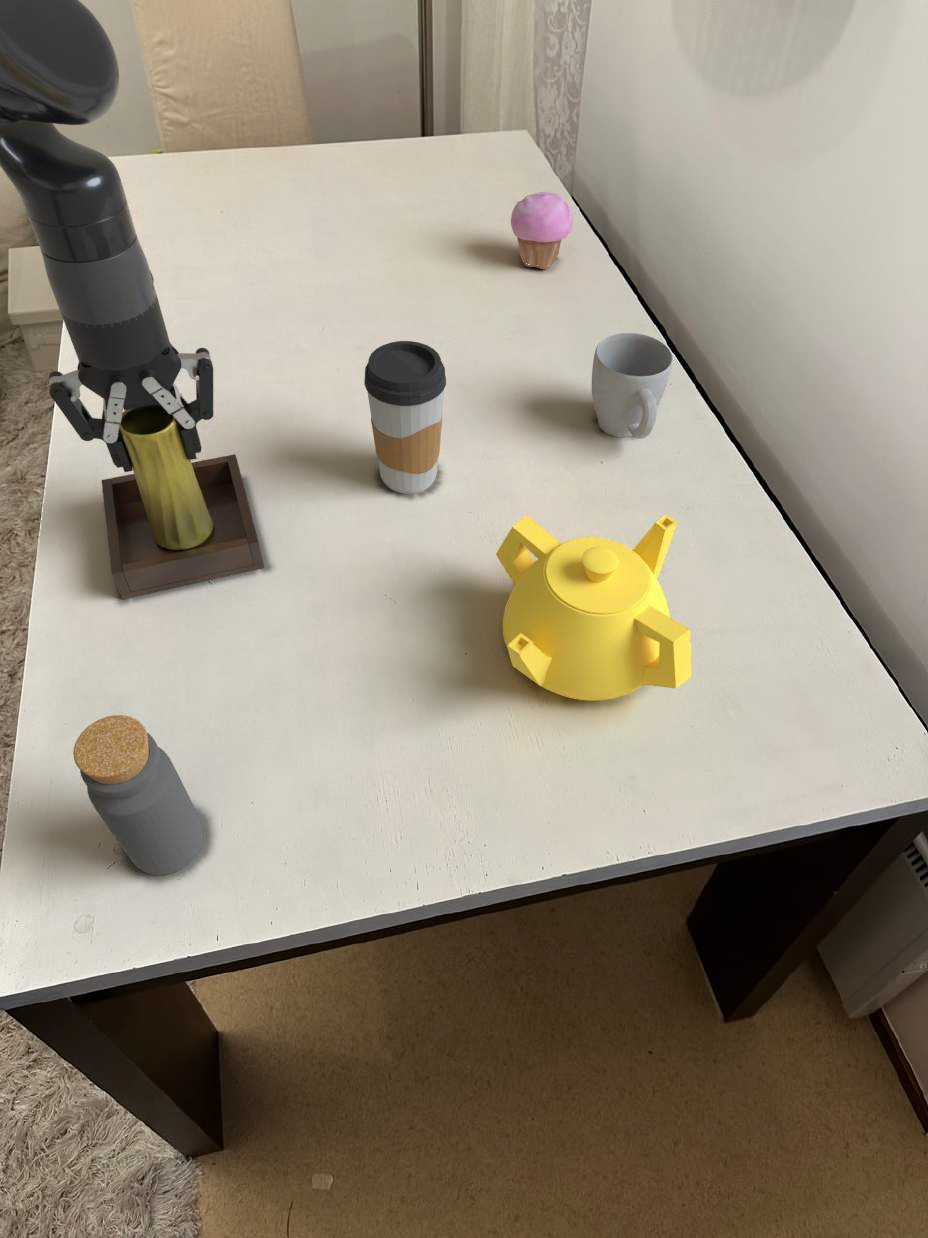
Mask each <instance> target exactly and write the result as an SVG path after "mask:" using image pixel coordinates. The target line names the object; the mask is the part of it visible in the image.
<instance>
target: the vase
mask: <svg viewBox="0 0 928 1238" xmlns="http://www.w3.org/2000/svg"><path fill="white" fill-rule="evenodd" d="M119 432H120V434H121V437H122V440H123V442H124V445H125V448H126V451H127V454H128V457H129V459H130V462H131V465H132V470H133V471H132V472H133V474H135V478H136V481H137V484H138V487H139V490H140V494H141V497H142V500H143V503H144V507H145V510H146V513H147V516H148V520H149V523H150V526H151V530H152V535H153V538H154V540H155V541H156V542H157V543H158V544H159V545H160V546H162V547H164V548H166V549H170V550H186V549H190V548H193V547H196V546H198V545H200V544H201V543H203V542H204V541H205V540H206V539H207V538H208V537H209V536H210V534H211V532H212V529H213V522H212V519H211V517H210V515H209V512H208V510H207V507H206V504H205V501H204V498H203V495H202V492H201V490H200V487H199V484H198V482H197V479H196V476H195V473H194V470H193V467H192V464H191V463H192V460H189V457H188V454H187V450H186V447H185V444H184V440H183V437H182V433H181V430H180V424H179V422H178V421H177V420H176V419H175V417H174V416H173V415H170V414H169V413H168V412H167V411H166V410H165V409H164V408H163V407H162V405H161V404H157V405H152V406H150V405H141V406H138V407H136V408H134V409H129V410H123V412H122V418H121V424H120V425H119Z"/></svg>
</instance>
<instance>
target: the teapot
mask: <svg viewBox="0 0 928 1238" xmlns="http://www.w3.org/2000/svg"><path fill="white" fill-rule="evenodd" d="M677 526H678V521H676V520H675V519H674V518H673V517H671V516H670V515H668V514H665V515H664V516H662V517H660V518H659V519H657V520H656V521H655V522H653V525H652V526H651V527H650V528H649V530H648V531H646V533H645V534H644V536H643V537H642V538H641V539H640V540H639V542H638V543H637V544H636V545H635V546H634V547H633V549H632V548H630V547H628V546H627V545H624V544H623V543H620V542H618V541H615V540H613V539H609V538H604V537H598V536H583V537H577V538H574V539H573V538H572V539H570V540H568V541H565V542H563V543H562V542H561V541H560V540H559V539H557V538H556V537H554V536H553V535H552V534H551V533H550V532H549V531H547V530H546V529H545V528H543V527H542V526H541V525H540V524H539V523H537V522H536V521H535V520H534V519H533V518H531V517H530V516H529V515H527V514H526V515H524V517H522V518H521V519H520V520H519V521H518V522H516V523H515V524H514V525H513V526H511V528H510V530H509V532H508V533H507V535H506V537H504V540H503V542H502V543H501V544H500V547H499V548H498V550H497V552H496V553H495V556H496V557H497V559H498V561H499V562H500V564H501V565H502V567H503V568H504V570H505V572H506V573H507V575H508V576H509V578H510V580H511V582H512V583H513V584H514V586H513V587H512V590H511V592H510V594H509V597H508V600H507V603H506V605H505V608H504V612H503V617H502V636H503V640H504V644H505V646H506V649H507V651H508V655H509V658H510V662H511V665H512V667H513V668H514V669H516V670H517V671H519V673H521V674H523V675H524V676H525V677H527V678H528V679H529V680H531V681H533V682H534V683H535V684H537V685H538V686H540V687H542V688H544V689H545V690H547V691H549V692H551V693H554V694H557V695H559V696H562V697H566V698H569V699H574V700H579V701H591V702H592V701H606V700H614V699H616V698H621V697H624V696H625V695H628V694H631V693H634V692H635V691H637V690H638V689H640V688H642V687H643V686H649V687H650V686H651V687H658V688H667V689H668V688H669V689H675V690H676V689H677V688H679V687H680V686H682V685H683V683H685V682H686V681H687V680H689V679H690V678H691V677H692V675H693V669H692V668H693V667H692V646H691V629H690V628H689V627H687V626H686V625H684V624H683V623H681V622H679V621H677V620H676V619H674V618H673V617H671V616H670V609H669V606H668V602H667V598H666V595H665V593H664V591H663V589H662V586H661V584H660V582H659V581H658V579H659V576H660V573H661V570H662V568H663V565H664V563H665V559H666V557H667V553H668V551H669V548H670V545H671V543H672V540H673V536H674V534H675V532H676V528H677ZM530 552H531V554H532V555H533V556H534V557H535V558H537V560H534V558H533V556H532V555H531V554H530Z"/></svg>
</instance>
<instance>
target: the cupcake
mask: <svg viewBox="0 0 928 1238" xmlns="http://www.w3.org/2000/svg"><path fill="white" fill-rule="evenodd" d="M573 220H574V215H573V212H572V208H571V207H570V205H569V203H567V202H566V201H565V200H564V198H563V197H562V195H560V194H559V193H556V192H551V191H539V192H535V193H532V194H528V195H526V196H525V197H524V198H523V199H521V200H519V201H517V202H516V204H515V205H514V207H513V209H512V211H511V216H510V226H511V229H512V232H513V235H514V236H515V237H516V240H517V243H518V251H519V252H518V253H519V256H520V259H521V261H522V263H523V265H524V266H526V267H527V268H537V269H541V270H549V269H550V267H552V266H553V264H554V262H555V261H556V260H557V258H558V256H559V253H560V249H561V242H562V240H563V239H566V238H567V237H568V236H569V234H570V233H571V232H572V228H573V222H574V221H573ZM557 255H558V256H557ZM556 257H557V258H556ZM555 258H556V259H555ZM523 261H524V262H523ZM553 261H554V262H553ZM526 263H527V264H526ZM528 264H530V265H528ZM537 265H538V266H537ZM548 265H549V266H548Z"/></svg>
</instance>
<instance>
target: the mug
mask: <svg viewBox="0 0 928 1238" xmlns="http://www.w3.org/2000/svg"><path fill="white" fill-rule="evenodd" d="M673 357H674V356H673V354H672V352H671V350H670V348H669V347H668V346H666V345H665V344H664V343H663V342H662V341H660V340H659V339H657V338H654V337H653V336H649V335H647V334H642V333H636V332H634V333H633V332H622V333H616V334H612V335H609V336H607V337H606V338H604V339H602V340H601V341H600V342H599V343H598V344H597V346H596V347H595V351H594V355H593V359H592V369H591V397H592V403H593V408H594V412H595V414H596V417H597V422H598V426H599V428H600V429H601V430H602V431H603V432H604V433H606V434H608V435H610V436H612V437H616V438H631V437H633V438H634V439H645V438H646V437H648V436H649V435H650V434H651V433H652V431H653V429H654V427H655V424H656V420H657V415H658V406H659V405H660V403H661V401H662V398H663V396H664V394H665V391H666V388H667V386H668V383H669V379H670V376H671V372H672V368H673V362H674V358H673Z"/></svg>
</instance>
